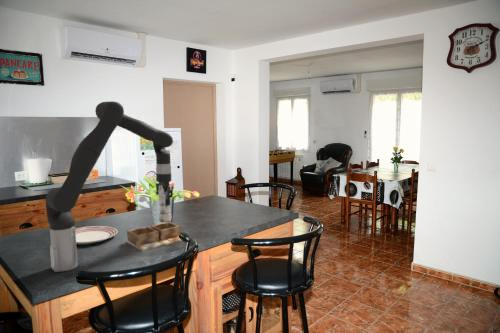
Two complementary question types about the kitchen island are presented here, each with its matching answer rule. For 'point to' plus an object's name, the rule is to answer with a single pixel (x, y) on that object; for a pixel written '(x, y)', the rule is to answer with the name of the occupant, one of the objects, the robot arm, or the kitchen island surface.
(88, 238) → the dinner plate
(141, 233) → the socket board
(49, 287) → the kitchen island surface
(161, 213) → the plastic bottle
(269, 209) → the kitchen island surface
